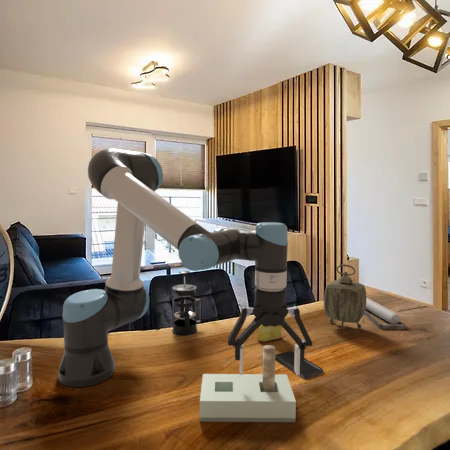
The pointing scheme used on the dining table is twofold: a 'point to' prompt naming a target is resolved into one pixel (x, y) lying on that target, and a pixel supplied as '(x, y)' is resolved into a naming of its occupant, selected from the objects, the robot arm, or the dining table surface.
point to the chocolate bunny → (269, 333)
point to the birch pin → (269, 368)
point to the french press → (185, 309)
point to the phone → (305, 366)
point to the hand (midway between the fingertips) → (268, 372)
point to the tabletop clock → (345, 299)
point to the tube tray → (385, 326)
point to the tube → (382, 312)
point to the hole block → (245, 399)
